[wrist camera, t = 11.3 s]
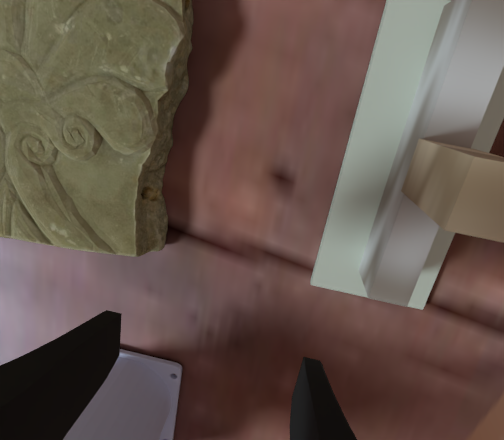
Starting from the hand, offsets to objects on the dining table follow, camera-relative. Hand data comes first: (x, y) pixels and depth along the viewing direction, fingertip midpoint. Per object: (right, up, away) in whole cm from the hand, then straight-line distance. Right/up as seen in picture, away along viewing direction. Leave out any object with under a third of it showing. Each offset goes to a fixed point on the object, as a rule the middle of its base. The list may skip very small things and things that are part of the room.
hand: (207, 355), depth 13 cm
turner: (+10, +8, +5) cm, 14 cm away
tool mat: (+10, +8, +6) cm, 14 cm away
